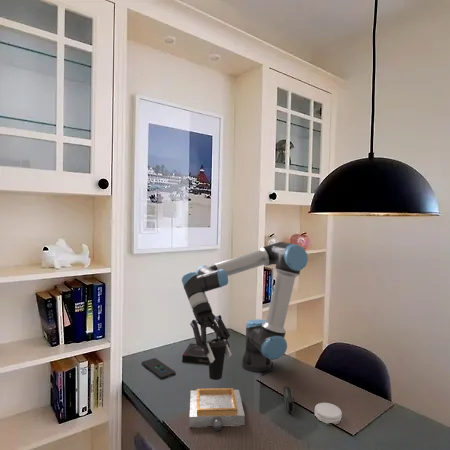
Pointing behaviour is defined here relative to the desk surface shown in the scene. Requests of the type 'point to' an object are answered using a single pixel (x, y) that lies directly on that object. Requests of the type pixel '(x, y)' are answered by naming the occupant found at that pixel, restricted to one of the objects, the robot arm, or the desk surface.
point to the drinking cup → (217, 357)
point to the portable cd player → (195, 355)
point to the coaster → (328, 412)
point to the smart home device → (158, 368)
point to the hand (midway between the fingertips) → (221, 359)
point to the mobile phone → (288, 399)
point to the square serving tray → (216, 408)
